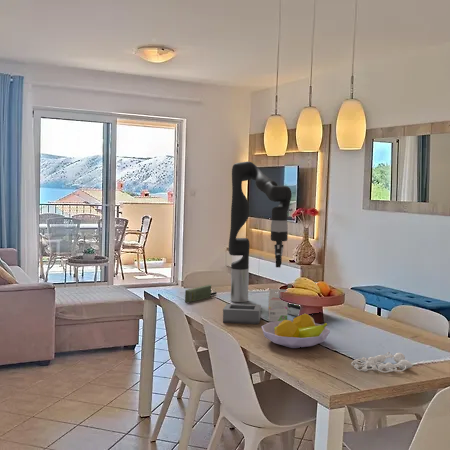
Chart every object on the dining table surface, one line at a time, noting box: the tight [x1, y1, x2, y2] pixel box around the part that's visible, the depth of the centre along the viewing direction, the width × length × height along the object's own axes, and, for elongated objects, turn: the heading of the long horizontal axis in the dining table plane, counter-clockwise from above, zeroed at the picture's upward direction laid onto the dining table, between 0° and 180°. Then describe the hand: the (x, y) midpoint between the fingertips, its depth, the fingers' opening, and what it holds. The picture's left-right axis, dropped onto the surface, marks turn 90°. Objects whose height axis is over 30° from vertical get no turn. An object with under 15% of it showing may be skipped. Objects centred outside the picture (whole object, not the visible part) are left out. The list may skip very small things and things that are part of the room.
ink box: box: [267, 288, 288, 322], centre depth 256 cm, size 9×5×15 cm, turn 84°
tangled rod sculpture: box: [350, 351, 413, 374], centre depth 193 cm, size 19×14×4 cm
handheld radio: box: [184, 284, 217, 303], centre depth 302 cm, size 7×3×25 cm
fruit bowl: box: [261, 313, 331, 349], centre depth 220 cm, size 28×27×11 cm
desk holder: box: [222, 303, 262, 325], centre depth 256 cm, size 12×16×6 cm
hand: (278, 265), depth 255 cm, fingers open, 8 cm apart
